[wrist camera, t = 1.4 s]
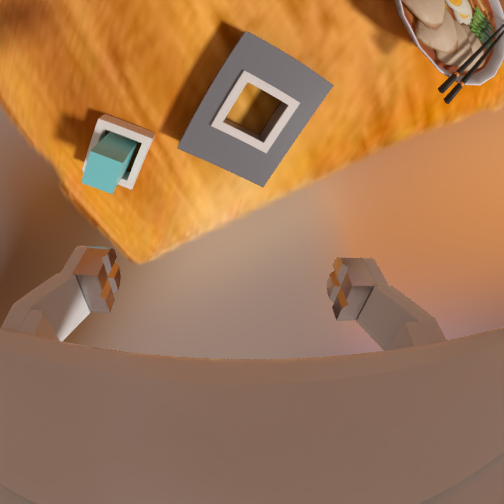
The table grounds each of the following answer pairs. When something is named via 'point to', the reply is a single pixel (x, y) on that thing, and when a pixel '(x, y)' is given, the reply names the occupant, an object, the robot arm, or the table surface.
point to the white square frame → (130, 132)
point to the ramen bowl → (457, 38)
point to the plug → (108, 162)
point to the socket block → (278, 127)
